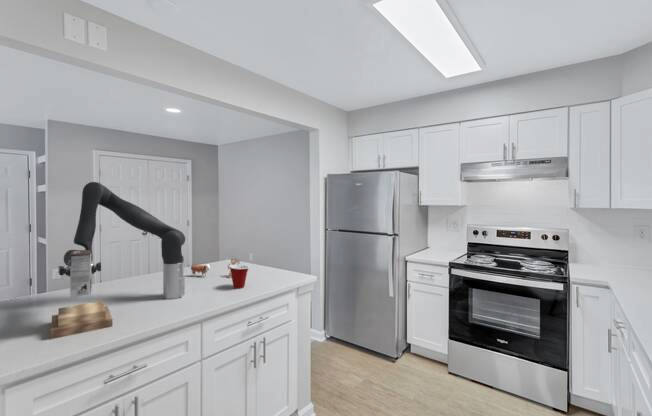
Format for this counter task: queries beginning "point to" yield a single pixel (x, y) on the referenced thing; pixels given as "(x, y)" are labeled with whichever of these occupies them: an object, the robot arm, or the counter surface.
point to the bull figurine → (200, 269)
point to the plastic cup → (239, 275)
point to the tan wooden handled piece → (229, 267)
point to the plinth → (79, 326)
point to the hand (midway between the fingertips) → (81, 272)
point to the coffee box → (80, 273)
